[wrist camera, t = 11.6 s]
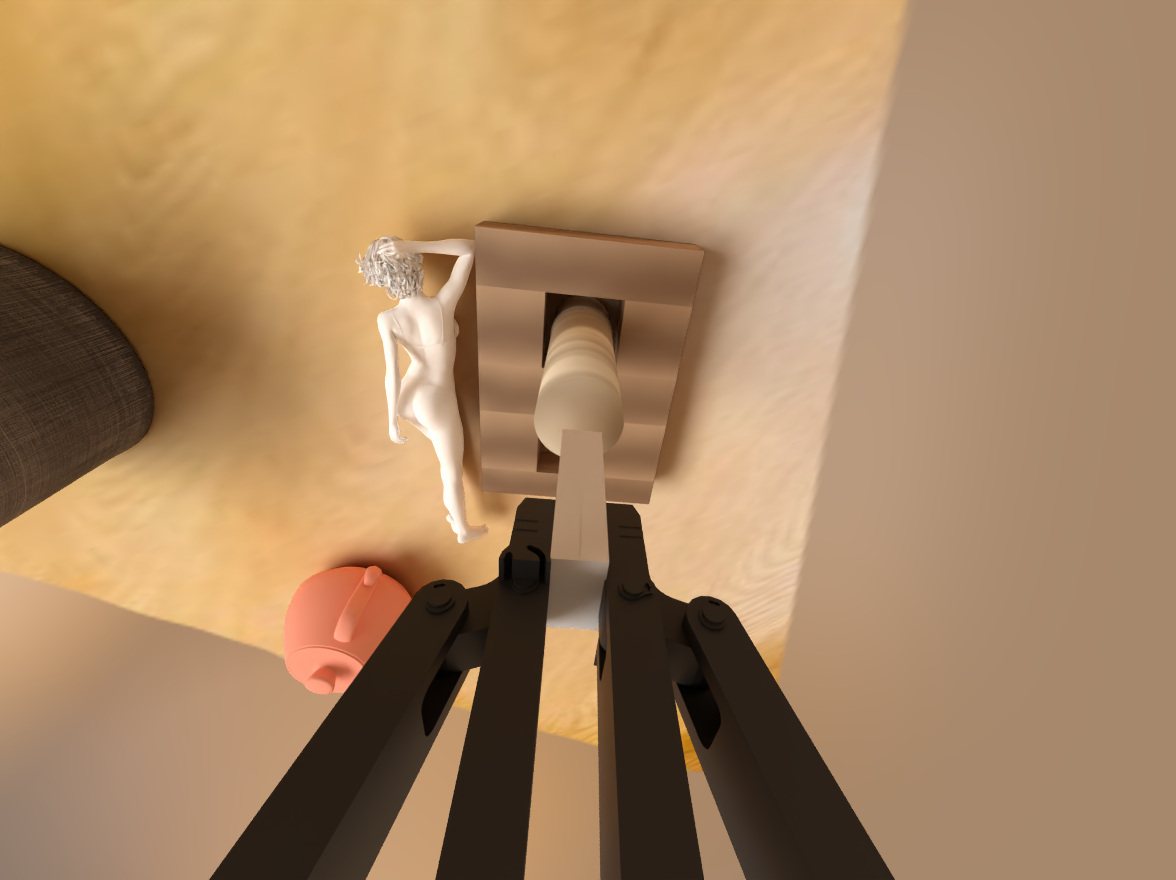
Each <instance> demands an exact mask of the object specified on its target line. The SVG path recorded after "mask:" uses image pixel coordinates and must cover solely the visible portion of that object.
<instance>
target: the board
mask: <svg viewBox="0 0 1176 880" xmlns="http://www.w3.org/2000/svg"><path fill="white" fill-rule="evenodd" d="M474 234H475V268H476V302H477V336H478V370H479V404H480V438H481V472H482V491H485V492H498V493H511V494H524V495H537V496H550V497H556V493H557V482H558V472H559V462H560V456H559V455H557V454H555V453H548V452H540V439H539V437H538V435H537V433H536V430H535V426H534V414H535V409H536V404H537V400H538V395H539V390H540V386H541V381H542V376H543V372H544V367H545V362H546V357H547V353H545V343H546V324H547V305H548V292H549V293H558V294H568V295H578V296H588V297H597V298H607V299H617V300H621V304H620V311H619V319H618V326H617V333H616V340H615V348H614V354H615V361H616V368H617V374H618V381H619V388H620V394H621V401H622V408H623V414H624V427H623V431H622V434H621V436H620V438H619V440H618V441H617V443H616V444H615V445H614V446H613V447H612V448H611V449H610V450H608V451H607V452H606V453H604V454H603V460H604V478H605V496H606V501H614V502H627V503H640V504H649V501H650V497H651V492H652V488H653V483H654V479H655V474H656V470H657V465H658V460H659V456H660V451H661V447H662V442H663V438H664V433H665V429H666V424H667V420H668V415H669V411H670V406H671V402H672V397H673V393H674V388H675V384H676V379H677V375H678V370H679V366H680V361H681V357H682V352H683V348H684V343H685V339H686V334H687V330H688V325H689V321H690V316H691V312H692V307H693V303H694V298H695V293H696V289H697V284H698V280H699V275H700V271H701V266H702V262H703V257H704V253H705V251H703V250H702V249H701V248H699V247H698V246H696V245H695V244H687V243H678V242H669V241H660V240H651V239H641V238H632V237H623V236H614V235H605V234H596V233H587V232H578V231H569V230H560V229H551V228H542V227H533V226H524V225H515V224H506V223H497V222H488V221H483V222H482V223H480V224H478V225H476V226H474Z"/></svg>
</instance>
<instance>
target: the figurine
mask: <svg viewBox="0 0 1176 880" xmlns="http://www.w3.org/2000/svg"><path fill="white" fill-rule="evenodd" d="M420 253H439V254H449V255H458V256H459V258H458V260H457V261H456V263H455V265H454V267H453V270H452V273H451V276H450V279H449V281H448V282H447V283H446V284H445V285H444V286H443V287H442V288H441V290H440V291H439V293H438V294H437V295H436V296H434V297H428V296H426V295H425V294H424V293H423V292H422V290H423V287H422V286H423V278H424V277H423V275H424V271H423V269H422V265H421V264H422V263H423V261H422V259H424V256H422V255H420ZM474 255H475V241H474V240H467V239H446V240H440V241H408V240H403V239H401V238H399V237H396V236H384V237H382V238H379V239H377V240H375V241H373V242H371V244H370V245H369V248H368V250H367V253H366V255H365V257H364V259H363V260H362V259H361V256H360V253H359V257H360V260H361V261H358V260H356V259H355V258H354V260H355V261H356V263H358V264H359V265H361V266H363V267H362V268H361V267H360V266H359V272H364V274H363V275H364V276H365V277H364V278H366V283H365V284H367V283H368V281H369V280H371V281H372V282H370V281H369V282H370V283H371V284H372V285H374V284H375V285H376V286H377V285H378V286H379V287H384V285H385V287H387V295H388V292H390V293H392V294H393V295H395V297H397V298H400V299H401V300H400V302H399V304H398V305H397V306H396V307H395V308H394V307H393V308H391V309H388V310H384V311H382V312H381V313H380V314H379V315H378V320H377V321H378V328H379V331H380V334H381V337H382V340H383V344H384V352H385V359H386V367H387V371H386V377H385V387H386V394H387V400H388V409H389V435H390V437H391V440H392V441H394V442H395V443H397V444H398V443H400V444H405V443H404V442H405V441H408V438H407V437H406V438H401V437H400V436H399V433H400V429H399V424H398V419H397V416H399V417H400V418H402V419H404V420H408V421H409V422H411V423H412V424H413V425H414V426H415V427H417V428H418V429H419V430H420V431H421V432H422V433H423V434H425V435H426V436H427V437H428V438H429V439H431V440H432V442H433V445H434V448H435V451H436V453H437V456H438V458H439V460H440V462H441V477H442V480H443V483H444V494H443V498H444V503H445V506H446V507H447V509H448V510H449V512H450V513H449V514H448V515H447V517H446V519H447V521H448V522H450V523H451V525H452V529H453V531H454V532H455V533H457V534H458V542H459V543H466V542H468V541H470V540H472V539H476V538H479V537H482V536H484V535H486V534H487V533H488V528H487V527H486V524H484V525H481V526H469V525H468V523H467V518H466V511H465V495H464V488H463V482H462V476H463V465H462V461H463V452H464V435H463V427H462V422H461V419H460V415H459V411H458V404H457V398H456V392H455V382H454V376H453V366H454V362H455V357H456V337H457V336H458V334H459V326H458V323H457V322H456V320H455V319H454V312H455V308H456V305H457V303H458V300H459V298H460V297H461V295H462V293H463V291H464V289H465V286H466V284H467V281H468V278H469V274H470V271H471V268H472V264H473V260H474ZM422 257H423V258H422ZM421 270H422V271H421ZM359 272H358V273H359ZM365 284H364V285H365ZM371 284H370V285H369V286H372V285H371ZM388 288H389V289H388ZM388 296H389V295H388ZM389 297H390V296H389ZM390 298H391V297H390ZM397 298H396V299H397ZM391 299H392V298H391ZM393 300H395V299H393ZM396 339H397V340H398V341H399V343H400V344H401V345H402V346H403V347H404V348H405V350H406V351H407V353H408V354H409V355H410V357H411V359H412V363H411V365H410V367H409V369H408V371H407V373H406V375H405V377H404V378H403V379H402V380H401V378H400V371H399V357H398V344H397V340H396Z"/></svg>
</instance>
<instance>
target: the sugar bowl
mask: <svg viewBox="0 0 1176 880" xmlns="http://www.w3.org/2000/svg"><path fill="white" fill-rule="evenodd" d="M411 600H412V598H411V597H410V595H409V594H408V592H407V591H406V589H405V588H404V587H403V586H402V585H401V584H400V583H398V582H397V581H396V580H394V579H393V578H391V577H389V576H387V575H385V574H383V573H382V571H381V569H380V568H378V567H376V566H370V567H368V568H362V567H341V568H335V569H331V570H327V571H324V572H321V573H318V574H316V575H313V576H312V577H310V578H309V579H307V580H306V581H304V582H303V583H302V584H301V585H300V586H299V588H298V589H297V591H296V592H295V594H294V596H293V598H292V600H291V602H290V605H289V607H288V610H287V613H286V617H285V622H284V628H283V644H284V658H285V663H286V667H287V669H288V671H289V672H290V674H291V675H292V676H293V677H294V678H295V679H296V680H298V681H299V682H301V683H303V684H304V685H305V686H306V688H307V689H308V690H310V691H312V692H314V693H318V694H329V693H331V692H334V693H341V692H345V691H346V690H347V688H348V687H349V685H350V684H351V683H352V681H353V680H354V679H355V677H356V676H357V674H358V673H359V672H360V670H361V669H362V667H363V666H364V665H365V663H366V662H367V661H368V659H369V658H370V656H371V655H372V654H373V652H374V651H375V649H376V648H377V647H378V645H379V644H380V643H381V641H382V640H383V638H384V637H385V636H386V634H387V633H388V631H389V630H390V629H391V627H392V626H393V625H394V623H395V622H396V620H397V619H398V618H399V616H400V615H401V613H402V612H403V611H404V609H405V608H406V607H407V605H408V604H409V602H410V601H411Z"/></svg>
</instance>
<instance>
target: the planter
mask: <svg viewBox="0 0 1176 880" xmlns="http://www.w3.org/2000/svg"><path fill="white" fill-rule="evenodd" d="M152 415H153V397H152V391H151V387H150V383H149V380H148V378H147V375H146V373H145V370H144V368H143V366H142V364H141V362H140V360H139V358H138V357H137V355H136V353H135V352H134V350H133V349H132V347H131V346H130V344H129V343H128V341H127V340H126V339H125V337H124V336H123V335H122V333H121V332H120V331H119V330H118V329H117V327H116V326H115V325H114V324H113V323H112V322H111V321H110V320H109V319H108V317H107V316H106V315H105V314H104V313H103V312H102V311H101V310H100V309H99V308H98V307H96V306H95V305H94V304H93V303H92V302H91V301H90V300H89V299H88V298H86V297H85V296H84V295H83V294H82V293H80V292H79V291H78V290H77V289H75V288H74V287H73V286H71V285H70V284H69V283H67V282H66V281H64V280H63V279H62V278H60V277H59V276H57V275H56V274H54V273H53V272H51V271H49V270H48V269H46V268H44V267H43V266H41V265H39V264H37V263H36V262H34V261H32V260H30V259H28V258H26V257H24V256H22V255H20V254H18V253H16V252H14V251H12V250H9V249H7V248H5V247H2V246H0V527H2V526H3V525H5V524H7V523H8V522H10V521H11V520H13V519H15V518H16V517H18V516H19V515H21V514H23V513H24V512H26V511H28V510H29V509H31V508H32V507H34V506H36V505H37V504H39V503H40V502H42V501H44V500H45V499H47V498H48V497H50V496H52V495H53V494H55V493H56V492H58V491H60V490H61V489H63V488H64V487H66V486H68V485H69V484H71V483H72V482H74V481H76V480H77V479H79V478H80V477H82V476H83V475H85V474H87V473H88V472H90V471H92V470H93V469H95V468H97V467H98V466H100V465H101V464H103V463H104V462H106V461H108V460H109V459H111V458H113V457H115V456H117V455H119V454H120V453H122V452H124V451H126V450H128V449H129V448H131V447H132V446H134V445H135V444H137V443H138V442H139V441H140V440H141V439H142V438H143V436H144V435H145V434H146V432H147V430H148V428H149V426H150V424H151V420H152Z"/></svg>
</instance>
